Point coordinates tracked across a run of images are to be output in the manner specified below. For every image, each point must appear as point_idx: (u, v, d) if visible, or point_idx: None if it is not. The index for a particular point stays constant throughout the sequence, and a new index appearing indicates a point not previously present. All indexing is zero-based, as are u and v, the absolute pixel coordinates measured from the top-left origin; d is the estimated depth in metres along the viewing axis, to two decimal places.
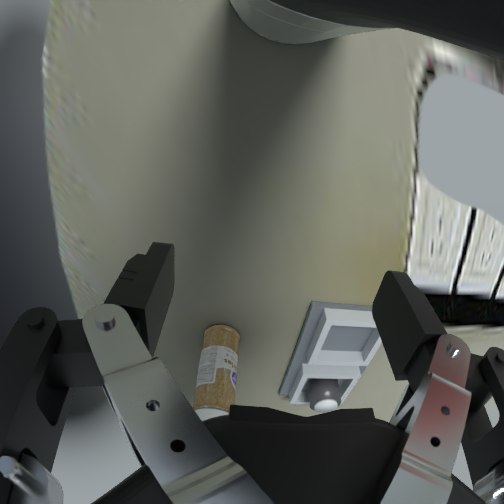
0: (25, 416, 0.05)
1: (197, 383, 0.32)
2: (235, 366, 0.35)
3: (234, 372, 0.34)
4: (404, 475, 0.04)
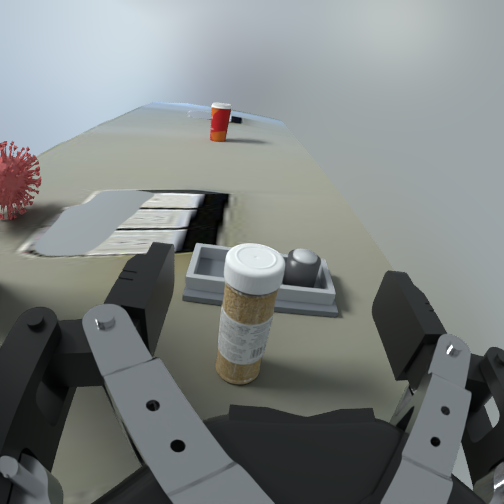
0: (25, 416, 0.05)
1: (235, 325, 0.26)
2: None
3: None
4: (404, 475, 0.04)
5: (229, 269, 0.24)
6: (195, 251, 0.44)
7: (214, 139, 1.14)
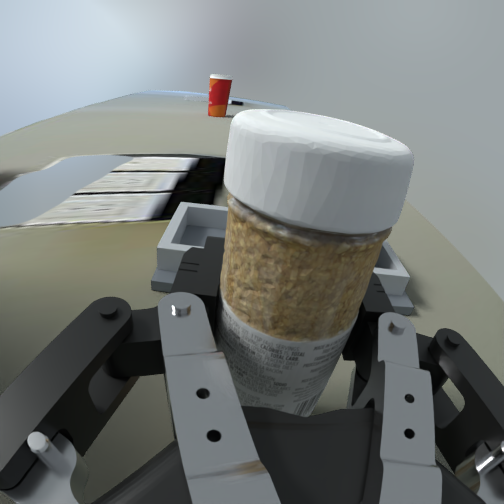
0: (72, 400, 0.05)
1: (260, 344, 0.08)
2: None
3: None
4: (404, 475, 0.04)
5: (245, 140, 0.06)
6: (178, 212, 0.27)
7: (212, 114, 0.97)
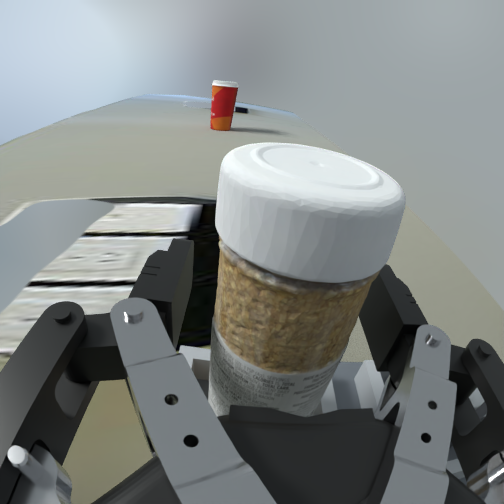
0: (42, 408, 0.05)
1: (252, 375, 0.09)
2: None
3: None
4: (404, 475, 0.04)
5: (234, 191, 0.06)
6: None
7: (216, 127, 0.85)
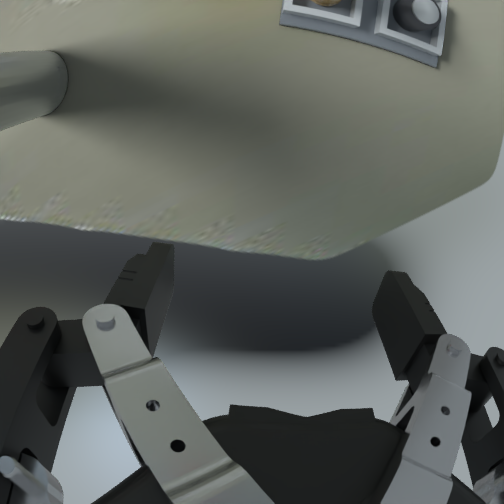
0: (25, 416, 0.05)
1: None
2: None
3: None
4: (404, 475, 0.04)
5: None
6: None
7: None
